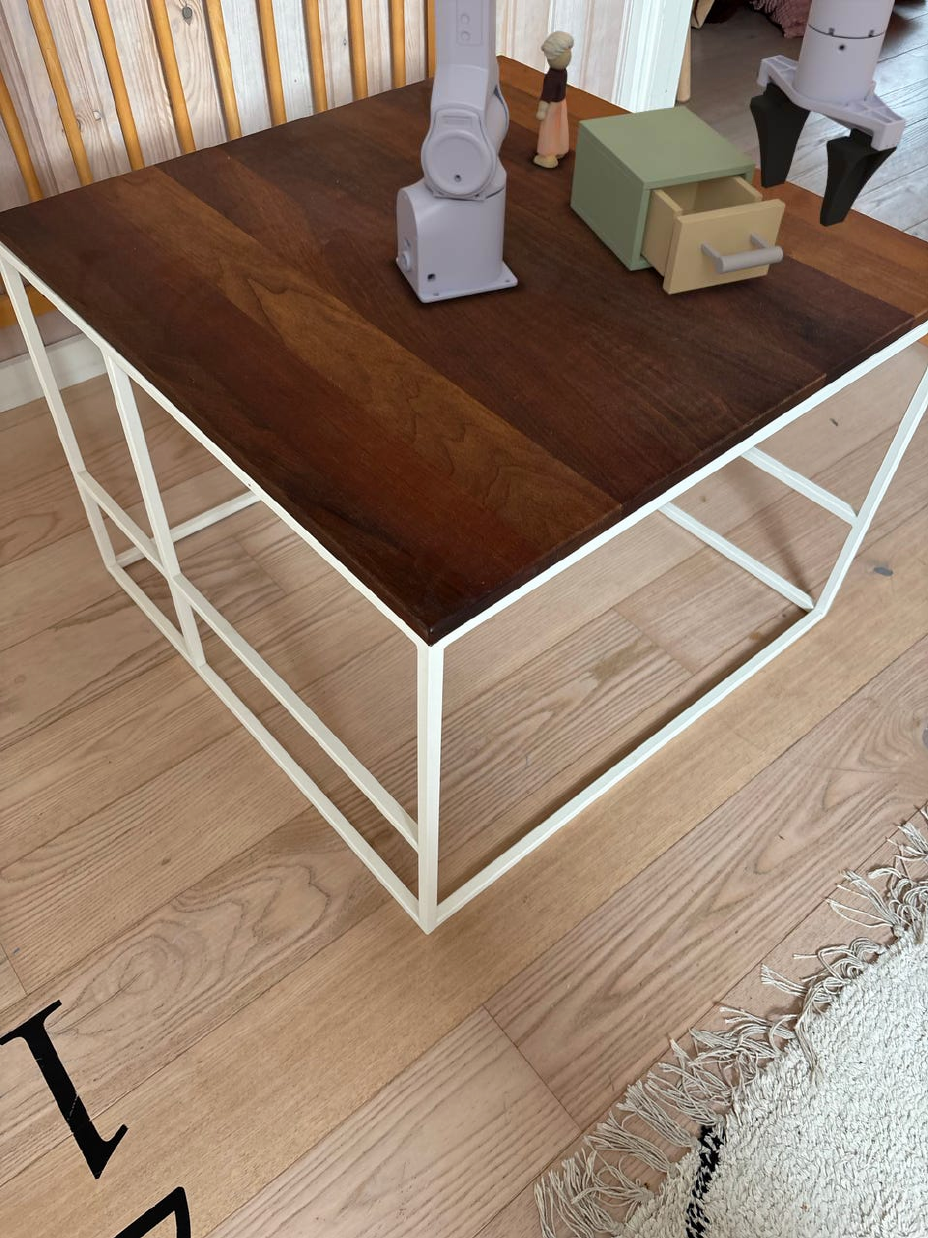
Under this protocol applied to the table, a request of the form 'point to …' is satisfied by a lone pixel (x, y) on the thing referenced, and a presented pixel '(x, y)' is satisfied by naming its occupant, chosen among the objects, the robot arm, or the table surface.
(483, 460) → the table surface
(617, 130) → the cabinet
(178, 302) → the table surface
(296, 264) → the table surface
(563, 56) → the grandmother figurine
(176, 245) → the table surface
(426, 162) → the robot arm
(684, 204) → the drawer
